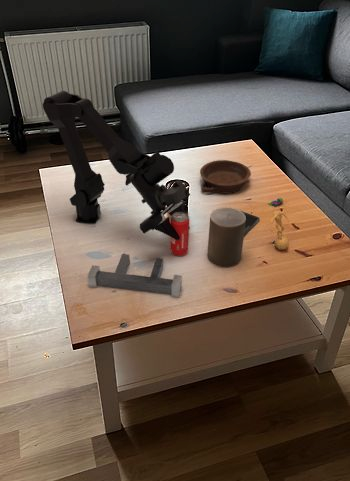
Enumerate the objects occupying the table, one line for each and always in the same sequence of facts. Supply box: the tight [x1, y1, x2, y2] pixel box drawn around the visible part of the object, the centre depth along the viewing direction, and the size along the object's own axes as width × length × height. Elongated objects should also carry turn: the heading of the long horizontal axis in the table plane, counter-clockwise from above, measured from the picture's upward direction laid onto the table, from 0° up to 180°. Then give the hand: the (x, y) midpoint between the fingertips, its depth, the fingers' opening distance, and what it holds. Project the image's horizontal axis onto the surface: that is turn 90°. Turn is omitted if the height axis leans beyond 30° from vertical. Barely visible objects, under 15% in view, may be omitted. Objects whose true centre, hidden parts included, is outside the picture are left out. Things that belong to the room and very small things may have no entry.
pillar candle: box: [206, 206, 246, 268], centre depth 132 cm, size 10×10×15 cm
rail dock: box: [87, 253, 183, 298], centre depth 128 cm, size 24×11×4 cm, turn 80°
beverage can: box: [169, 212, 190, 257], centre depth 135 cm, size 5×5×12 cm
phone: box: [240, 210, 260, 237], centre depth 148 cm, size 8×1×15 cm
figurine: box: [270, 210, 290, 251], centre depth 137 cm, size 8×6×12 cm
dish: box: [199, 159, 252, 194], centre depth 168 cm, size 18×22×5 cm
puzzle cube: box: [267, 197, 284, 208], centre depth 158 cm, size 4×3×2 cm, turn 117°
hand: (183, 234), depth 134 cm, fingers closed on beverage can, 5 cm apart
